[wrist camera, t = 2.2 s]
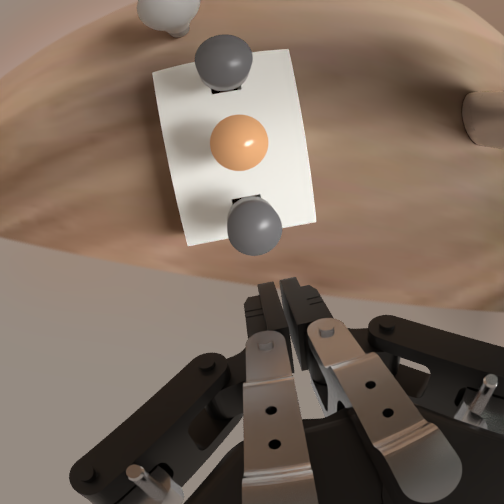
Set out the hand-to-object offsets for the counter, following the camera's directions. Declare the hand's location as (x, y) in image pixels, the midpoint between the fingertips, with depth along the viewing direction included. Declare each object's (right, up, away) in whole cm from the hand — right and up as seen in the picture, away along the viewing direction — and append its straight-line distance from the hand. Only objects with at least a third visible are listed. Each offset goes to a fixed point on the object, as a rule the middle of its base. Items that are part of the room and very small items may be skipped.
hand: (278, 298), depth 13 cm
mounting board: (-3, +15, +19) cm, 24 cm away
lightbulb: (-10, +28, +13) cm, 33 cm away
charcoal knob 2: (-2, +7, +18) cm, 19 cm away
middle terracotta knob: (-3, +13, +16) cm, 21 cm away
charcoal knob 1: (-4, +20, +13) cm, 24 cm away
